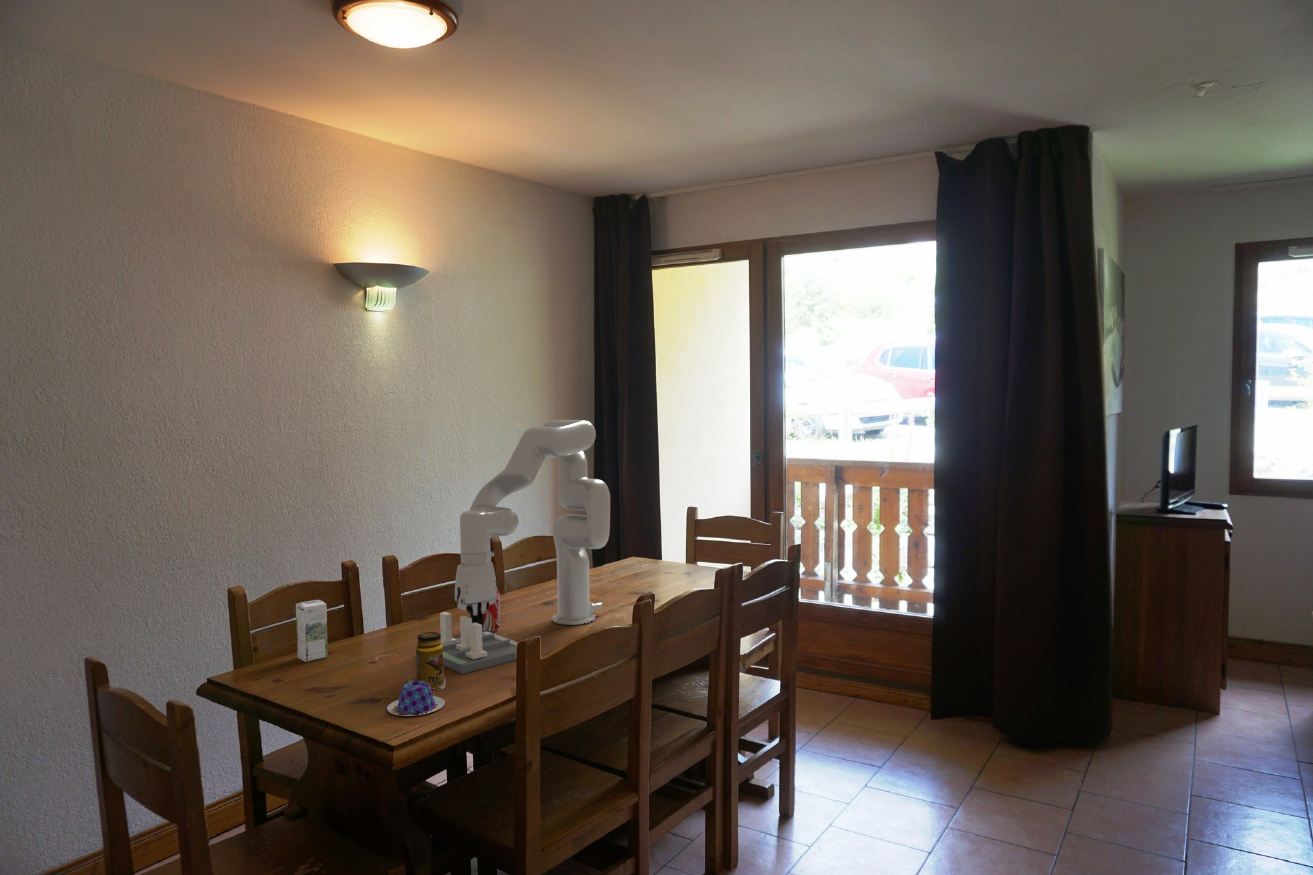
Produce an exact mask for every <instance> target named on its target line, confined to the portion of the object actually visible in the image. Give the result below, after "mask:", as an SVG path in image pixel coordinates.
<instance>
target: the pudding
mask: <svg viewBox="0 0 1313 875" xmlns="http://www.w3.org/2000/svg"><path fill="white" fill-rule="evenodd" d="M435 701H436V702H435ZM436 704H438V705H436ZM445 704H446V701H445V699H443V698H442V697H440V696H436V695H434V694H433V690H431V687H430V685H429V684H428V683H427V682H425V681H415V682H409V683H404V684H403V685H402V687H401V689H400V692H399V697H398V699H397V700H394V701H392V702H391V703H389V705H387V706H386V710H387V712H389V714H392V715H395V716H402V717H404V716H405V717H410V716H411V717H412V716H413V717H414V716H416V715H413V714H418V713H420V714H419V715H418V716H422V715H425V714H429V713H432V712H436V711H437V710H440V709H441V708H443V707H444V706H445ZM394 706H397V708H396V711H397V712H398V711H399V712H398V713H401V714H402V713H405V714H407V715H399V714H397V713H393V712H394V711H392V710H393V708H395V707H394ZM436 706H437V707H436ZM433 707H434V708H435V707H436V708H435V709H434V708H433ZM429 710H430V711H429ZM431 710H432V711H431ZM424 711H428V712H427V713H425V712H424ZM421 712H422V713H423V714H421ZM409 713H413V714H409Z"/></svg>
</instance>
